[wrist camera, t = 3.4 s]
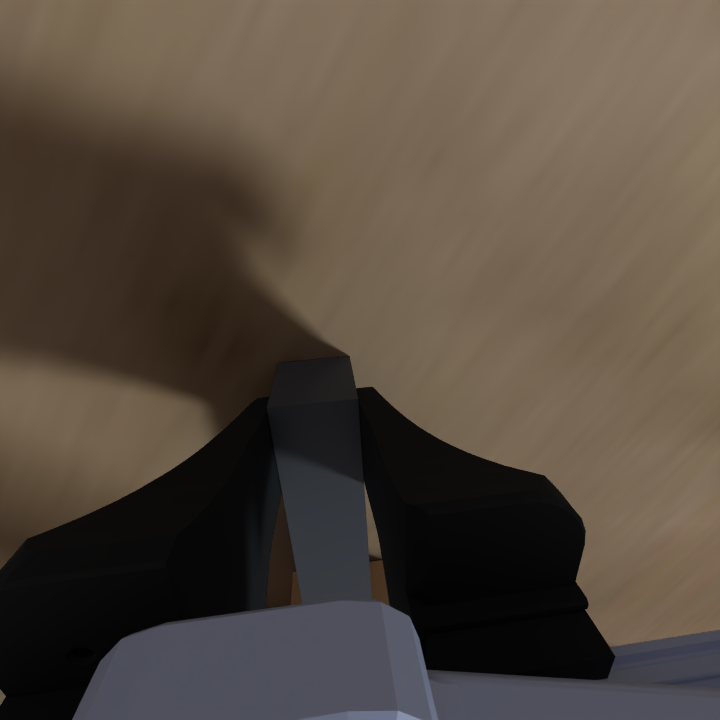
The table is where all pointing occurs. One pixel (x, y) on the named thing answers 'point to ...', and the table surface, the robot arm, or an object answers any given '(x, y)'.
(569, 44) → the table surface
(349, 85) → the table surface
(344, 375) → the plug
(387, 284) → the table surface
